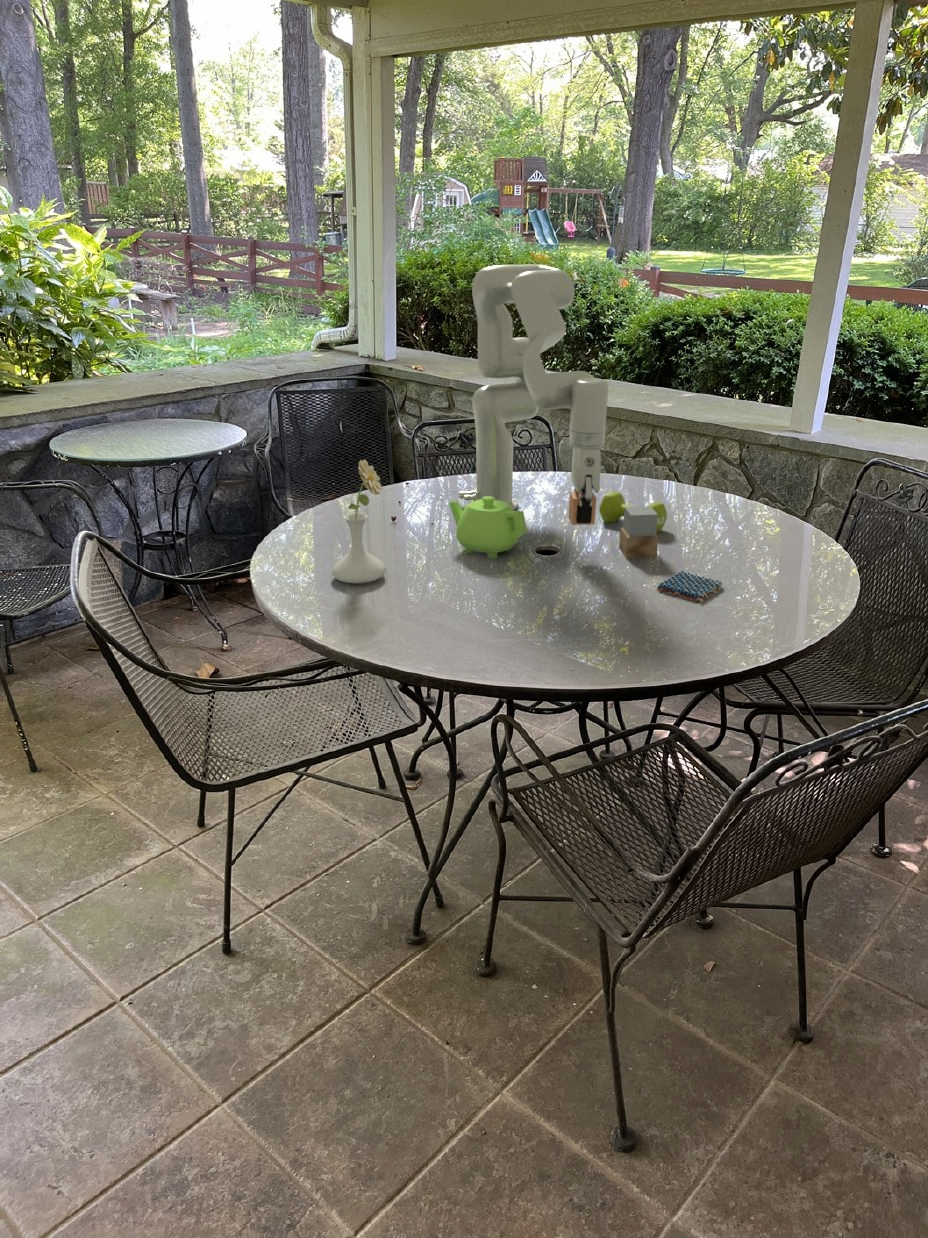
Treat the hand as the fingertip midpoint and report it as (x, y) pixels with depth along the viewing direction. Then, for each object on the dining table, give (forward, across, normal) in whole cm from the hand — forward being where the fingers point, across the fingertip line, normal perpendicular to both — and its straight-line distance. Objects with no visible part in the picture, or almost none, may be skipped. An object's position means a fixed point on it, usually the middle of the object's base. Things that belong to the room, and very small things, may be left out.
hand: (581, 517), depth 194 cm
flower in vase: (+9, -11, +49) cm, 51 cm away
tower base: (+9, 0, -13) cm, 16 cm away
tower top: (+4, 0, -14) cm, 14 cm away
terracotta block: (+1, 0, 0) cm, 1 cm away
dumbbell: (+9, +19, -16) cm, 27 cm away
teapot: (+9, +4, +21) cm, 23 cm away
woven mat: (+9, -22, -19) cm, 30 cm away
